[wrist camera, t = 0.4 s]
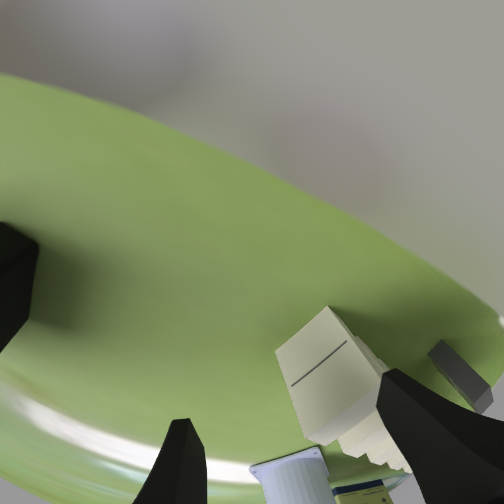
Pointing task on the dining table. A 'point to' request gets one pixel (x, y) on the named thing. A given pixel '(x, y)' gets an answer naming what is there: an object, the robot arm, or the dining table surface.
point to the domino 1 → (328, 378)
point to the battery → (15, 281)
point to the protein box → (362, 494)
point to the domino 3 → (383, 445)
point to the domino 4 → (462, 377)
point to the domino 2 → (364, 424)
